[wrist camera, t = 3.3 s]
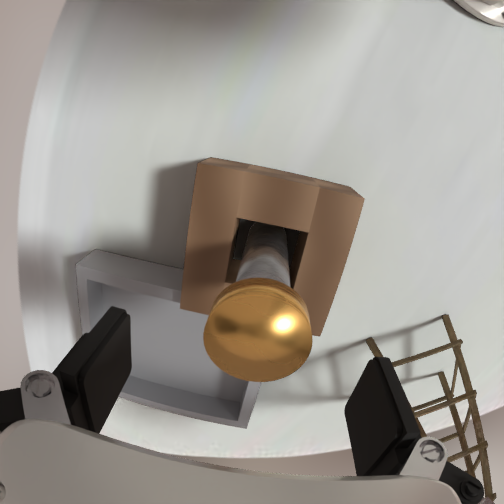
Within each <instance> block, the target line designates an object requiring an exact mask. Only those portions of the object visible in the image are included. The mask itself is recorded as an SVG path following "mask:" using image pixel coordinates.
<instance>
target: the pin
mask: <svg viewBox="0 0 504 504" xmlns="http://www.w3.org/2000/svg"><path fill="white" fill-rule="evenodd" d="M203 341H204V346H205V350H206V352H207V354H208V356H209V357H210V359H211V360H212V361H213V363H214V364H215V365H216V366H217V367H218V368H220V369H221V370H222V371H224V372H225V373H227V374H229V375H231V376H233V377H235V378H238V379H242V380H246V381H252V382H268V381H274V380H278V379H281V378H284V377H286V376H288V375H290V374H292V373H293V372H295V371H296V370H298V369H299V368H300V367H301V366H302V365H303V364H304V363H305V361H306V360H307V358H308V356H309V354H310V351H311V348H312V332H311V326H310V319H309V313H308V309H307V306H306V304H305V302H304V301H303V299H302V298H301V296H300V295H299V294H298V293H297V292H296V291H295V290H293V289H292V288H291V287H290V276H289V263H288V251H287V239H286V232H285V229H284V228H283V227H280V226H276V225H271V224H266V223H261V222H256V223H254V224H253V225H252V227H251V228H250V230H249V233H248V237H247V241H246V245H245V248H244V252H243V256H242V260H241V263H240V267H239V271H238V275H237V279H236V282H235V283H233V284H231V285H229V286H228V287H226V288H225V289H224V290H223V291H222V292H220V294H219V295H218V296H217V297H216V299H215V301H214V303H213V305H212V308H211V310H210V313H209V316H208V319H207V322H206V325H205V328H204V332H203Z"/></svg>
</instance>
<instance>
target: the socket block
mask: <svg viewBox="0 0 504 504" xmlns="http://www.w3.org/2000/svg"><path fill="white" fill-rule="evenodd" d="M363 203H364V198H363V197H362V196H361V195H359V194H358V193H357V192H356V191H355V190H353V189H352V188H351V187H349V186H345V185H341V184H337V183H333V182H329V181H325V180H320V179H316V178H312V177H308V176H303V175H299V174H294V173H290V172H285V171H281V170H276V169H271V168H266V167H261V166H256V165H251V164H246V163H240V162H235V161H229V160H224V159H218V158H212V157H211V158H208V159H206V160H204V161H201V162H199V163H198V164H197V171H196V177H195V184H194V191H193V198H192V205H191V212H190V220H189V227H188V235H187V243H186V252H185V261H184V270H183V280H182V290H181V300H180V309H183V310H187V311H192V312H196V313H200V314H205V315H209V313H210V310H211V308H212V305H213V303H214V301H215V299H216V297H217V296H218V295H219V294H220V292H222V291H223V290H224V289H225V288H226V287H228V286H229V285H231V284H233V283H235V282H236V279H237V275H238V271H239V267H240V263H241V260H238V259H233V254H234V249H235V243H236V238H237V233H238V227H239V222H240V218H242V219H247V220H251V221H256V222H261V223H266V224H271V225H276V226H280V227H285V228H290V229H295V230H299V235H298V239H297V243H296V247H295V251H294V255H293V259H292V263H291V266H290V270H289V276H290V287H291V288H292V289H293V290H295V291H296V292H297V293H298V294H299V295H300V296H301V298H302V299H303V301H304V302H305V304H306V306H307V309H308V313H309V319H310V326H311V332H312V335H314V336H320V335H321V333H322V330H323V327H324V324H325V322H326V319H327V316H328V313H329V311H330V308H331V305H332V302H333V299H334V296H335V294H336V291H337V288H338V285H339V282H340V279H341V276H342V273H343V270H344V267H345V263H346V260H347V257H348V254H349V251H350V248H351V244H352V241H353V238H354V234H355V231H356V228H357V224H358V221H359V217H360V214H361V210H362V206H363Z"/></svg>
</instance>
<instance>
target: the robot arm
mask: <svg viewBox="0 0 504 504" xmlns="http://www.w3.org/2000/svg"><path fill="white" fill-rule="evenodd" d="M454 1H455V2H456V3H457V4H459V5H460V6H461V7H462V8H464V9H465V10H466V11H468V12H469V13H471V14H472V15H474V16H475V17H477V18H479V19H481V20H483V21H485V22H487V23H490V24H493V25H496V26H502V27H504V0H454ZM131 369H132V357H131V318H130V315H129V314H127V312H126V310H125V309H122V308H118V307H114V306H111V307H110V308H109V309H108V311H107V312H106V313H105V314H104V315H103V317H102V318H101V319H100V320H99V321H98V323H97V324H96V325H95V326H94V327H93V329H92V330H91V331H90V332H89V333H85V334H83V335H82V337H81V338H80V339H79V340H78V341H77V343H76V344H75V345H74V346H73V348H72V349H71V350H70V351H69V353H68V354H67V355H66V356H65V358H64V359H63V360H62V361H61V363H60V364H59V365H58V366H57V368H56V369H55V370H54V371H53V373H50V372H48V371H44V370H37V371H33V372H30V373H29V374H27V375H26V376H25V377H24V378H23V379H22V382H21V388H16V389H10V390H5V391H0V504H495V503H494V502H493V501H492V500H491V499H490V498H489V497H487V498H484V497H483V496H484V488H483V486H482V484H481V482H480V481H479V480H478V479H476V478H475V477H473V476H471V475H470V474H468V473H466V472H465V471H462V470H461V469H459V468H458V467H456V466H454V465H453V464H451V463H449V462H448V461H447V457H448V452H447V449H446V447H445V445H444V444H443V443H442V442H441V441H439V440H438V439H436V438H433V437H423V438H422V437H421V434H420V433H421V432H420V429H419V427H418V424H417V422H416V419H415V417H414V414H413V412H412V409H411V407H410V404H409V402H408V400H407V397H406V395H405V393H404V390H403V388H402V386H401V383H400V381H399V379H398V376H397V374H396V372H395V370H394V367H393V365H392V363H391V361H390V359H389V358H386V357H374V358H373V360H369V362H368V363H367V366H366V368H365V370H364V371H363V373H362V375H361V377H360V379H359V381H358V383H357V385H356V387H355V389H354V391H353V393H352V394H351V396H350V398H349V400H348V402H347V404H346V406H345V417H346V422H347V427H348V432H349V437H350V442H351V447H352V452H353V458H354V463H355V468H356V474H357V476H308V475H292V474H278V473H269V472H260V471H252V470H244V469H238V468H231V467H225V466H219V465H214V464H208V463H203V462H198V461H194V460H189V459H185V458H180V457H176V456H172V455H168V454H164V453H160V452H157V451H153V450H149V449H146V448H142V447H139V446H136V445H132V444H129V443H126V442H122V441H119V440H116V439H113V438H110V437H107V436H104V435H101V434H99V433H100V431H101V429H102V427H103V425H104V423H105V421H106V419H107V417H108V416H109V414H110V412H111V410H112V408H113V406H114V404H115V402H116V400H117V398H118V396H119V394H120V392H121V390H122V389H123V387H124V385H125V383H126V381H127V379H128V377H129V375H130V373H131Z"/></svg>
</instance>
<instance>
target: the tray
mask: <svg viewBox="0 0 504 504" xmlns="http://www.w3.org/2000/svg"><path fill="white" fill-rule="evenodd" d="M183 270H184V269H179V268H175V267H170V266H166V265H161V264H157V263H152V262H148V261H144V260H139V259H135V258H131V257H126V256H122V255H118V254H114V253H109V252H105V251H101V250H97V249H95V250H94V251H92V252H91V253H90V254H89V255H87V256H86V257H85V258H83V259H82V260H81V261H79V262H78V263H77V264H76V278H77V291H78V301H79V311H80V319H81V327H82V334H85V333H89V332H90V331H91V330H92V329H93V327H94V326H95V325H96V324H97V323H98V321H99V320H100V319H101V318H102V317H103V315H104V314H105V313H106V312H107V311H108V309H109V308H110V307H111V306H114V307H118V308H122V309H125V310H126V312H127V314H129V315H130V318H131V357H132V369H131V373H130V375H129V377H128V379H127V381H126V383H125V385H124V387H123V389H122V390H121V392H120V394H119V396H118V397H121V398H124V399H127V400H130V401H133V402H136V403H139V404H143V405H146V406H149V407H153V408H156V409H160V410H163V411H167V412H171V413H175V414H179V415H183V416H187V417H191V418H195V419H200V420H204V421H209V422H213V423H218V424H223V425H228V426H234V427H239V428H245V429H247V425H248V422H249V419H250V416H251V413H252V410H253V407H254V404H255V401H256V398H257V394H258V391H259V388H260V385H261V382H252V381H246V380H242V379H238V378H235V377H233V376H231V375H229V374H227V373H225V372H224V371H222V370H221V369H220V368H218V367H217V366H216V365H215V364H214V363H213V361H212V360H211V359H210V357H209V356H208V354H207V352H206V350H205V346H204V341H203V332H204V328H205V325H206V322H207V319H208V316H209V315H205V314H200V313H196V312H192V311H187V310H183V309H180V300H181V290H182V280H183Z"/></svg>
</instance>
